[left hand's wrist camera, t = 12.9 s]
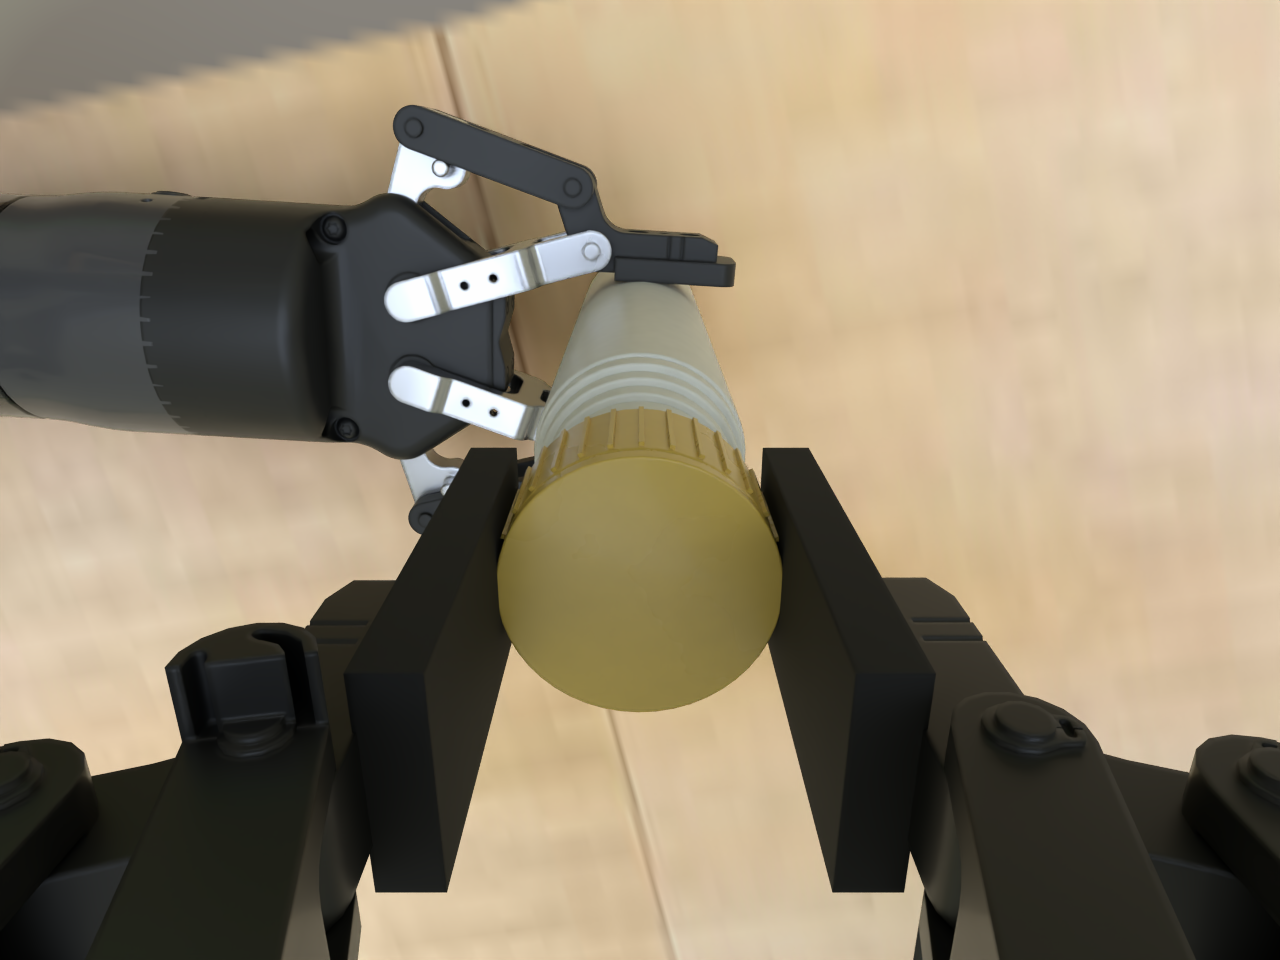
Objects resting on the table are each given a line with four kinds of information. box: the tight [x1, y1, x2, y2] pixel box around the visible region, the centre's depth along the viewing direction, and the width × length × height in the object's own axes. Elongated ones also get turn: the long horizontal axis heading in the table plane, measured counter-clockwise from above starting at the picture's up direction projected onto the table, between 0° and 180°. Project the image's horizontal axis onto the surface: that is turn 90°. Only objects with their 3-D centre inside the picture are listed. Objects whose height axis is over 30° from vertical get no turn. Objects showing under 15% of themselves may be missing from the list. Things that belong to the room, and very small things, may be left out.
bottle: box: [534, 272, 745, 463], centre depth 23 cm, size 4×4×23 cm
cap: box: [497, 406, 782, 712], centre depth 13 cm, size 4×4×2 cm
